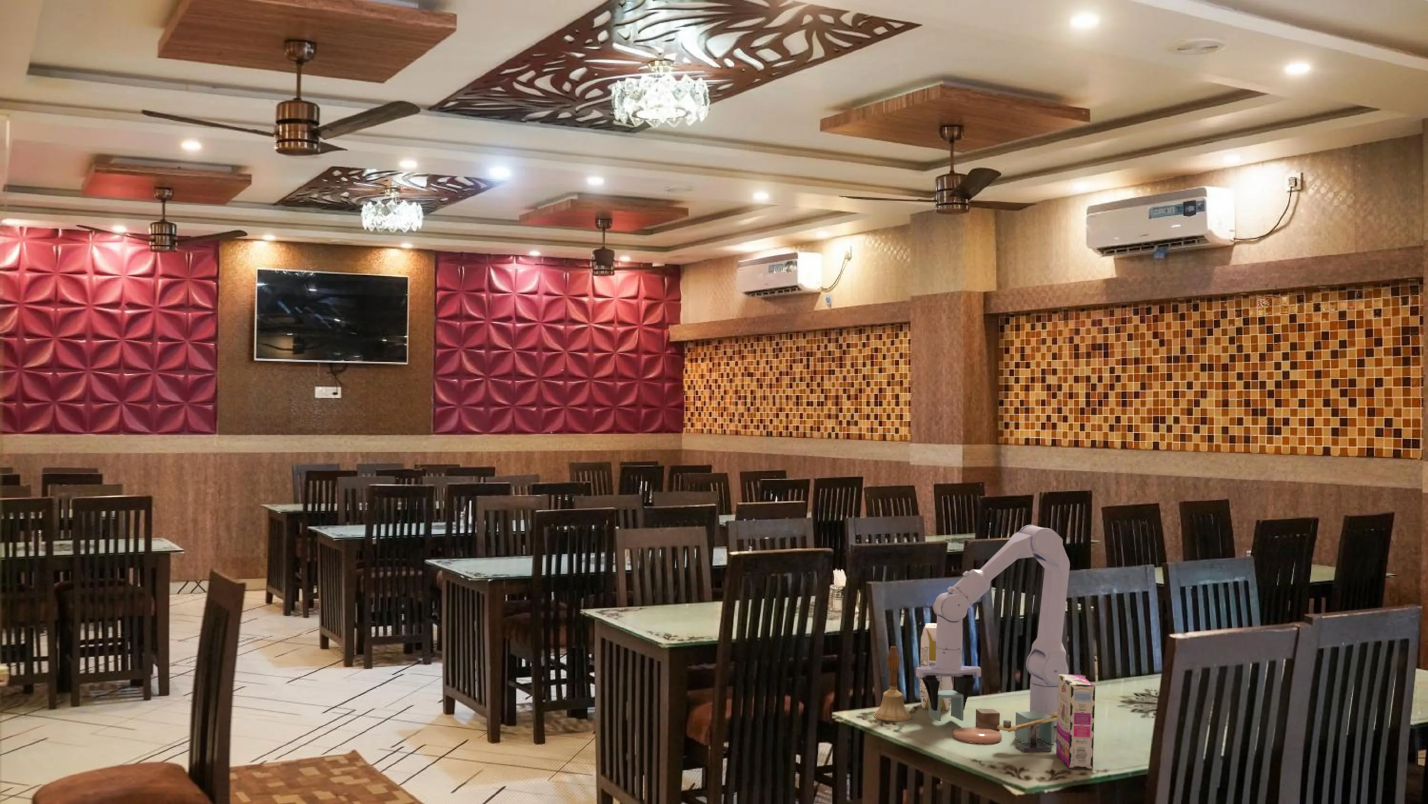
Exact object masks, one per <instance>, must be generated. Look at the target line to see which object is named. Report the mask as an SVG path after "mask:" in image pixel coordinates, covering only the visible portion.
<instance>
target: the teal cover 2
mask: <svg viewBox="0 0 1428 804" xmlns="http://www.w3.org/2000/svg"><path fill="white" fill-rule="evenodd" d="M1048 717H1051V716H1049V715H1047V714H1045V713H1043V712H1042V711H1032V712H1030V711H1015V726H1016V725H1020V724H1024V723H1028V722H1030V721H1036V720H1040V719H1044V718H1048ZM1030 727H1031V726H1030ZM1030 727H1026V728H1022V729H1019V730H1016V731H1014V732H1015V733H1014V734H1015V736H1014V738H1015V739H1016V738H1017V739H1018V741H1019V740H1020V741H1019V742H1021V741H1022V742H1023V743H1030ZM1054 733H1055V726H1054V721H1050V722H1046V723H1042V724H1039V727H1038V732H1037V738H1038V737H1040V738H1041V739H1040V738H1039V739H1040V740H1042V741H1044V742H1045V741H1046V742H1045V743H1047V742H1048V743H1047V744H1048V745H1051V744H1053V745H1054V742H1055V741H1054ZM1017 739H1016V740H1017ZM1022 742H1021V743H1022Z"/></svg>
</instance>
